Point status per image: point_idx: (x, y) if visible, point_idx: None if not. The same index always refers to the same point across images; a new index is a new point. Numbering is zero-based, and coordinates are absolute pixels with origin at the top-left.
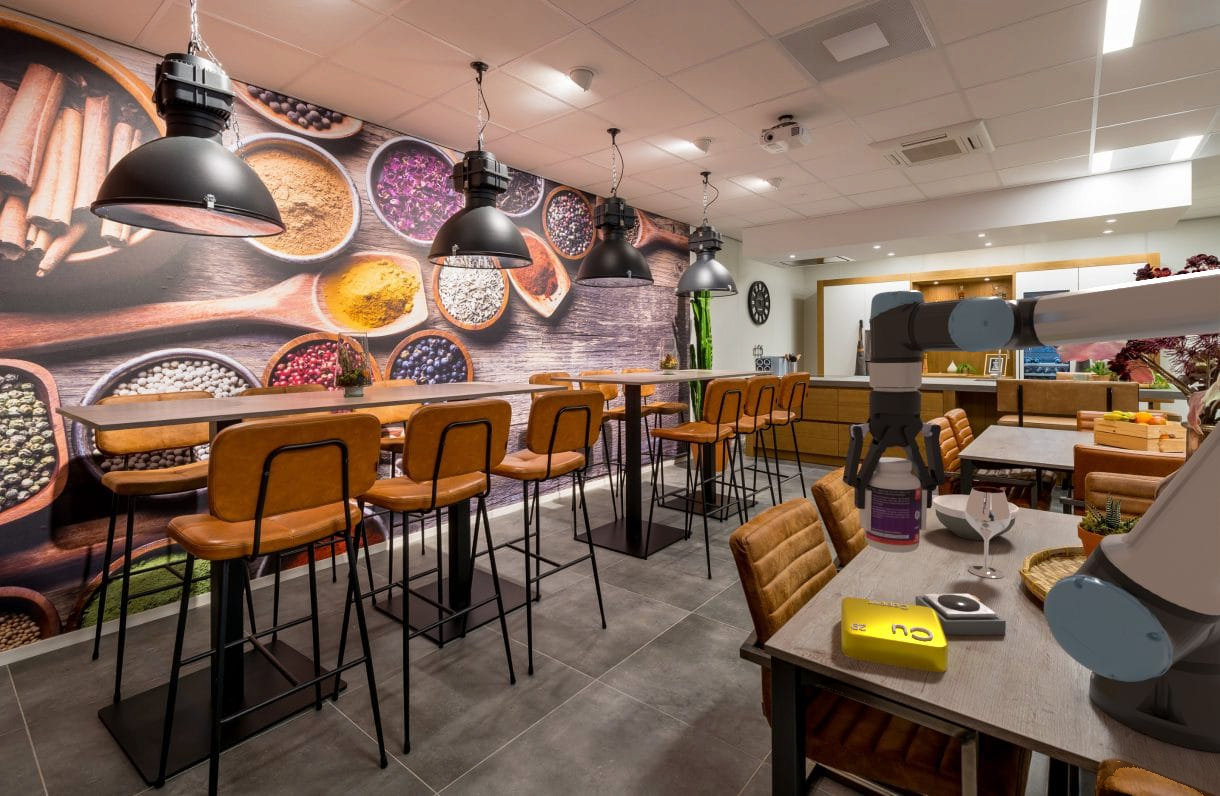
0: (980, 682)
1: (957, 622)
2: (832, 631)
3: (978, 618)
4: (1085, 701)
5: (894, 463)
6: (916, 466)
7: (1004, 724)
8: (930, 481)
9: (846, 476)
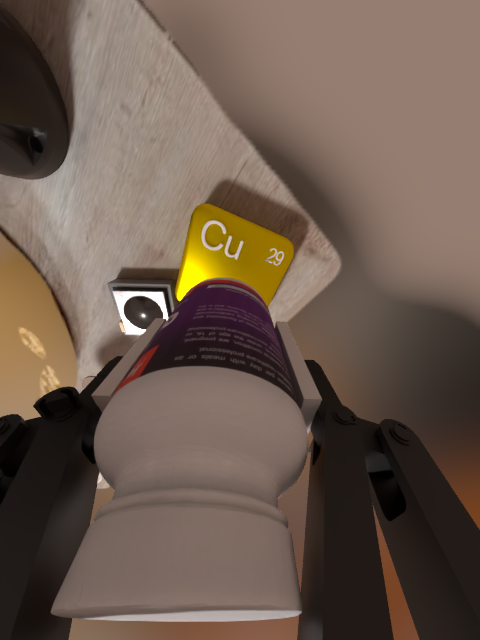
0: (175, 180)
1: (157, 283)
2: (277, 290)
3: (133, 289)
4: (77, 131)
5: (218, 606)
6: (49, 547)
7: (186, 75)
8: (46, 432)
9: (392, 479)
